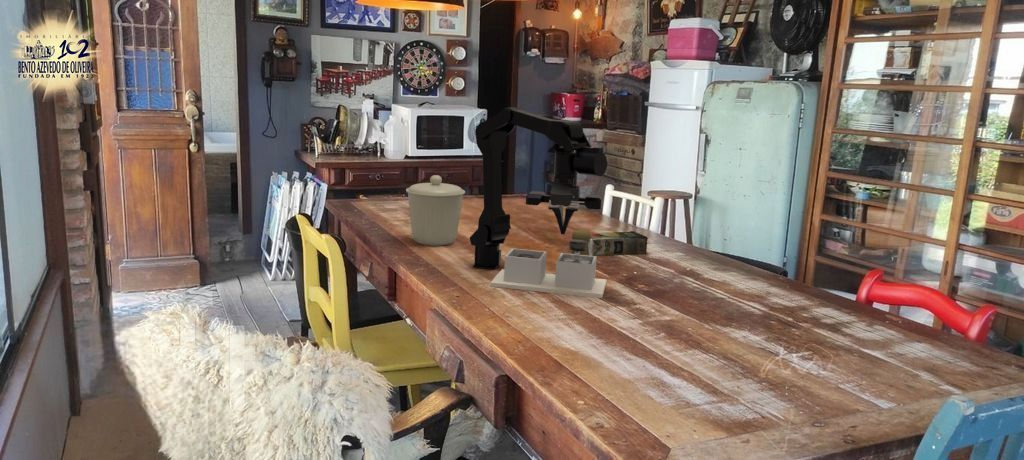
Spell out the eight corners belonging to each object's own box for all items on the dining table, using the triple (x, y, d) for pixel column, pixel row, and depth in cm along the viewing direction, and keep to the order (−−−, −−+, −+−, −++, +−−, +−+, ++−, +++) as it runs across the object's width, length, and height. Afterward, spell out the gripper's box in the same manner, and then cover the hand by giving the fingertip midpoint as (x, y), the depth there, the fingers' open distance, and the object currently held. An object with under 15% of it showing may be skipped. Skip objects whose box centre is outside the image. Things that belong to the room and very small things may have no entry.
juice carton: (588, 257, 219) (590, 237, 218) (574, 250, 228) (576, 230, 227) (647, 255, 226) (648, 236, 224) (631, 248, 235) (633, 230, 233)
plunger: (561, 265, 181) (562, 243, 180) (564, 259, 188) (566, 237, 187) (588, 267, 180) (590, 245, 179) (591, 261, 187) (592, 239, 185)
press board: (490, 286, 182) (491, 257, 181) (502, 272, 196) (503, 245, 194) (602, 298, 177) (604, 268, 176) (606, 283, 191) (608, 255, 189)
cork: (588, 272, 200) (591, 233, 198) (566, 270, 201) (569, 231, 199) (590, 267, 206) (593, 229, 204) (569, 265, 207) (572, 227, 205)
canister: (460, 250, 218) (463, 180, 214) (400, 247, 218) (401, 177, 214) (465, 237, 236) (468, 173, 231) (409, 234, 236) (411, 170, 231)
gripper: (522, 173, 174) (520, 237, 177) (600, 178, 170) (596, 243, 173) (531, 169, 185) (528, 229, 188) (604, 173, 181) (601, 234, 184)
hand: (562, 234), depth 183 cm, fingers closed
